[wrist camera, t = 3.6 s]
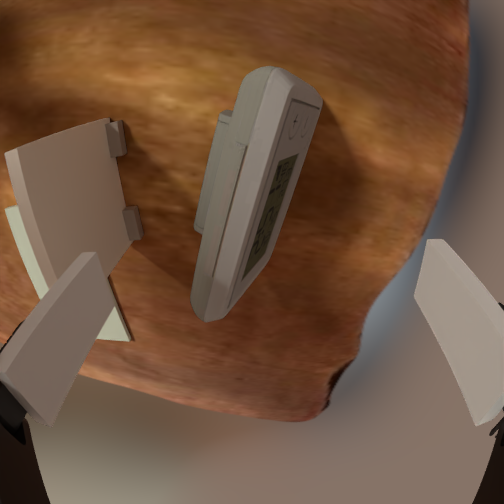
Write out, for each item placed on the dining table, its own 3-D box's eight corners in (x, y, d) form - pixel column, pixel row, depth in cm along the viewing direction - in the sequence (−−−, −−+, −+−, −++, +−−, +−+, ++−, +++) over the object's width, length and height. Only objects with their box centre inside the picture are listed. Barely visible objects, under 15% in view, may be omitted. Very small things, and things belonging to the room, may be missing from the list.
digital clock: (260, 265, 29) (258, 349, 20) (173, 225, 28) (132, 298, 18) (353, 113, 22) (410, 132, 13) (253, 59, 20) (245, 35, 11)
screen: (87, 122, 23) (-7, 157, 12) (121, 114, 22) (30, 143, 12) (113, 241, 29) (53, 321, 18) (145, 239, 28) (91, 324, 18)
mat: (7, 206, 27) (4, 209, 26) (81, 192, 26) (78, 194, 25) (60, 331, 36) (58, 334, 36) (131, 338, 35) (129, 341, 35)
